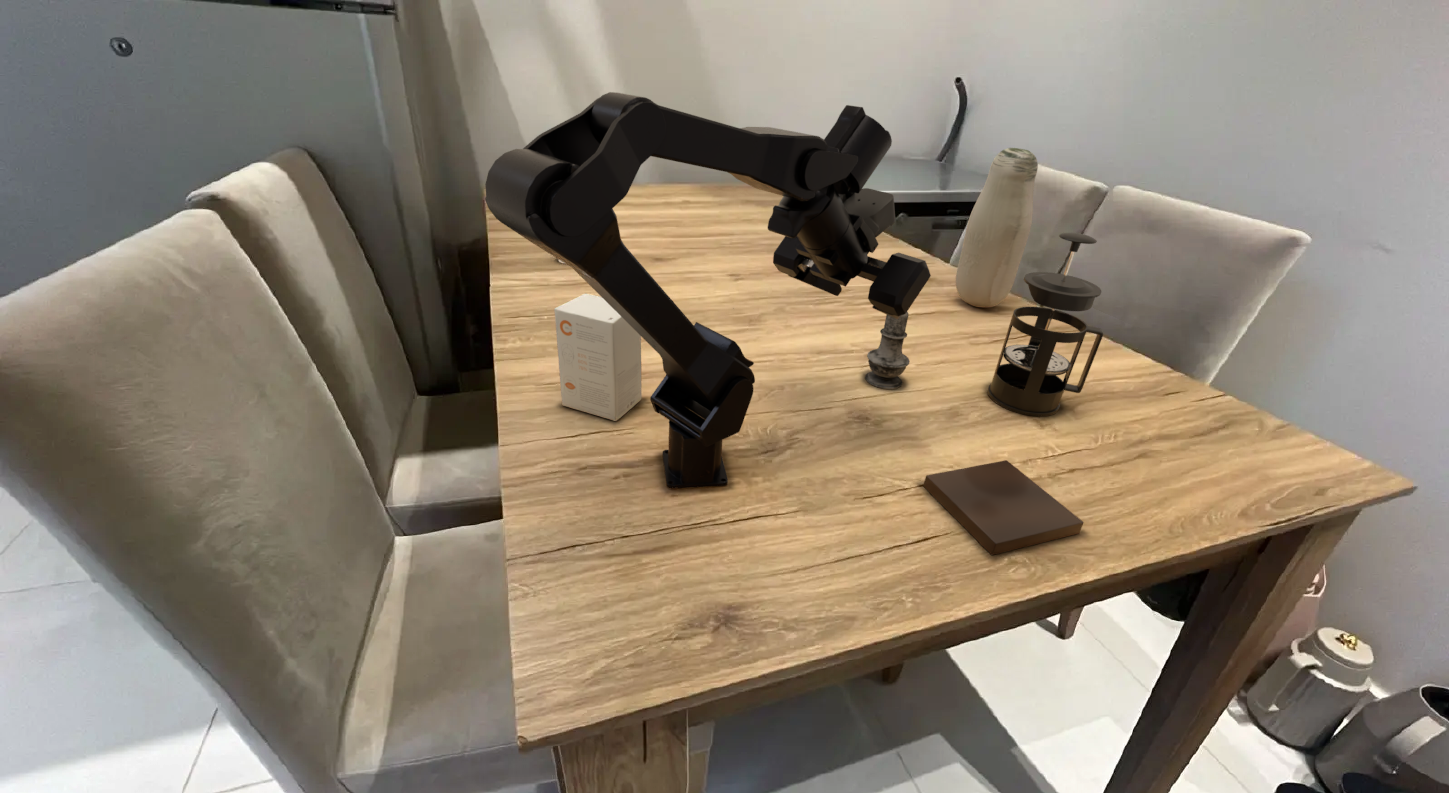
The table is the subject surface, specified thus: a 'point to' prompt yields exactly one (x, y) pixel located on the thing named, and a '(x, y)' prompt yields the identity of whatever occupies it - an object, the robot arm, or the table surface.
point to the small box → (597, 358)
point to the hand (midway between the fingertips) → (867, 303)
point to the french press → (1046, 342)
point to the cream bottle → (998, 230)
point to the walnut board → (1002, 506)
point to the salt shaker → (889, 355)
